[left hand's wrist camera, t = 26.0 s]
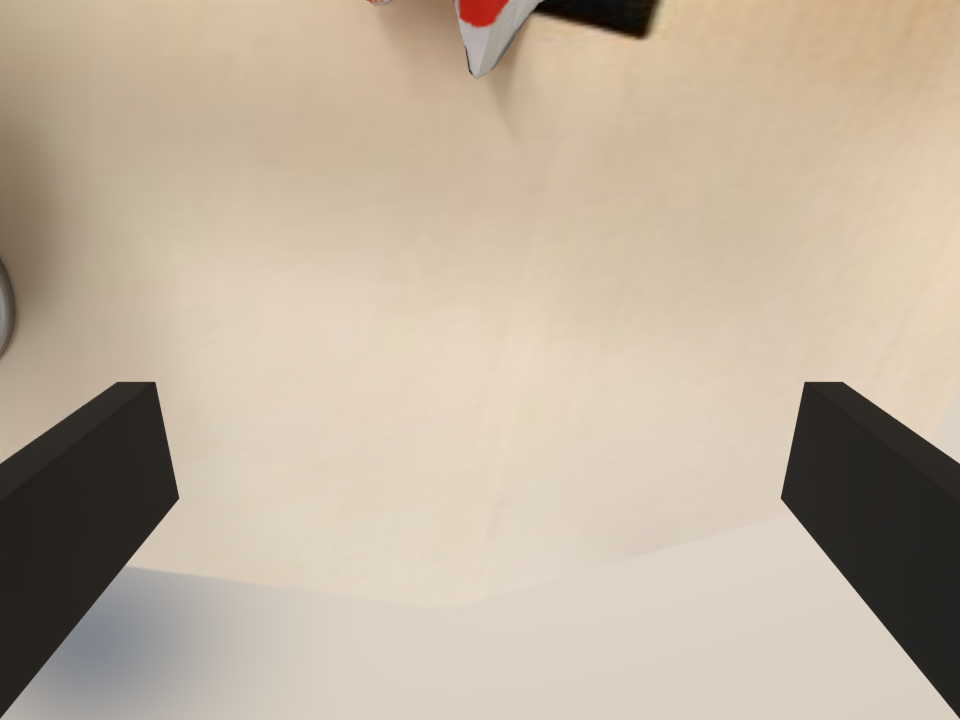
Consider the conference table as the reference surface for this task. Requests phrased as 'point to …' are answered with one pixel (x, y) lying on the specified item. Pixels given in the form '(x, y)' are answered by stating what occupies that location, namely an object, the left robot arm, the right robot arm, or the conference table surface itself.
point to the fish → (488, 28)
